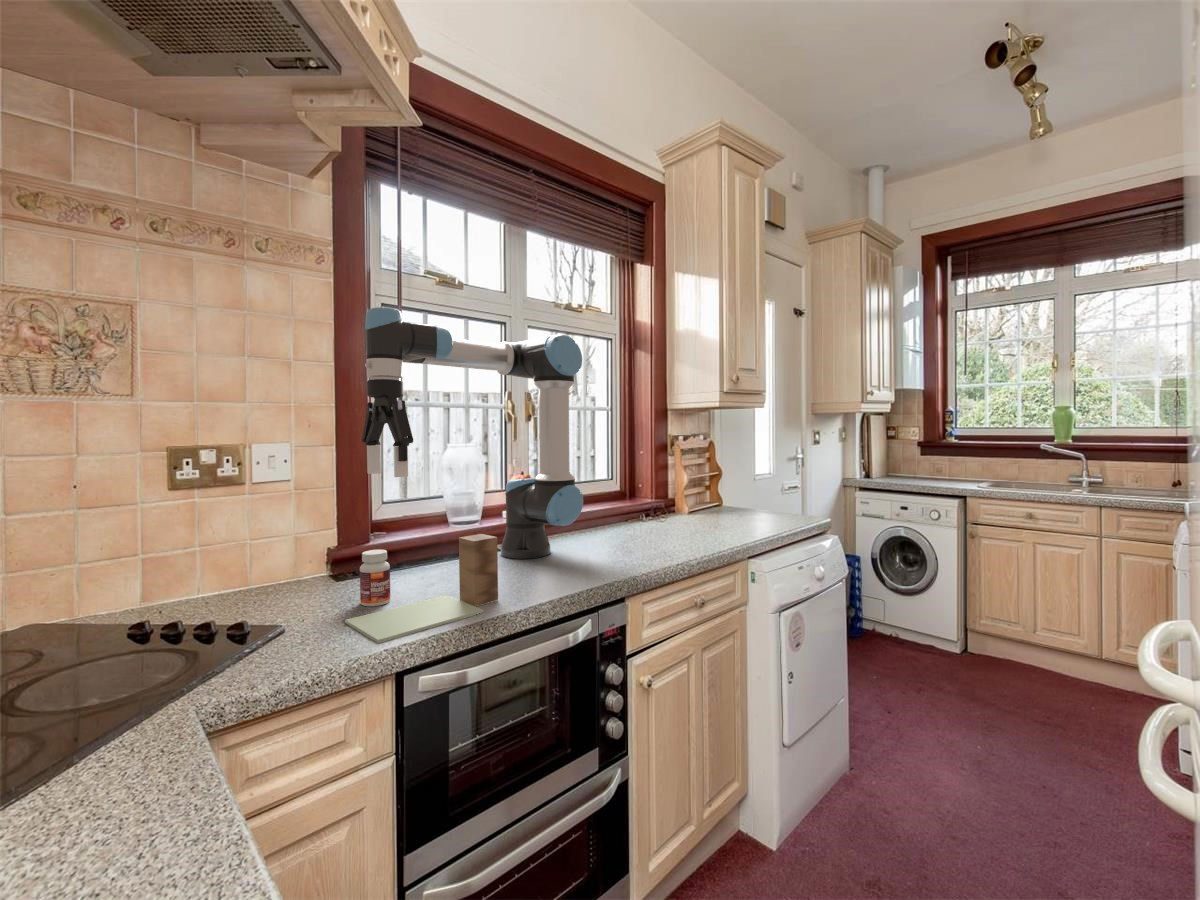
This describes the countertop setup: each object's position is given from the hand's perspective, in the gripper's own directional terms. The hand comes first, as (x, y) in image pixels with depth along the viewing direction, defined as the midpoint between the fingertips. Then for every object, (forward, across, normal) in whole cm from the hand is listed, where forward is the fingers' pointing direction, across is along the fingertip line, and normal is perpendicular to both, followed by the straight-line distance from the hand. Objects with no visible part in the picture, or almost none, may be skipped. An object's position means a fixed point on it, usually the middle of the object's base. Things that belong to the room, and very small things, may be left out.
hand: (387, 475), depth 121 cm
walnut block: (+28, +16, +13) cm, 35 cm away
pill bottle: (+28, 0, -3) cm, 28 cm away
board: (+28, +16, -2) cm, 32 cm away
